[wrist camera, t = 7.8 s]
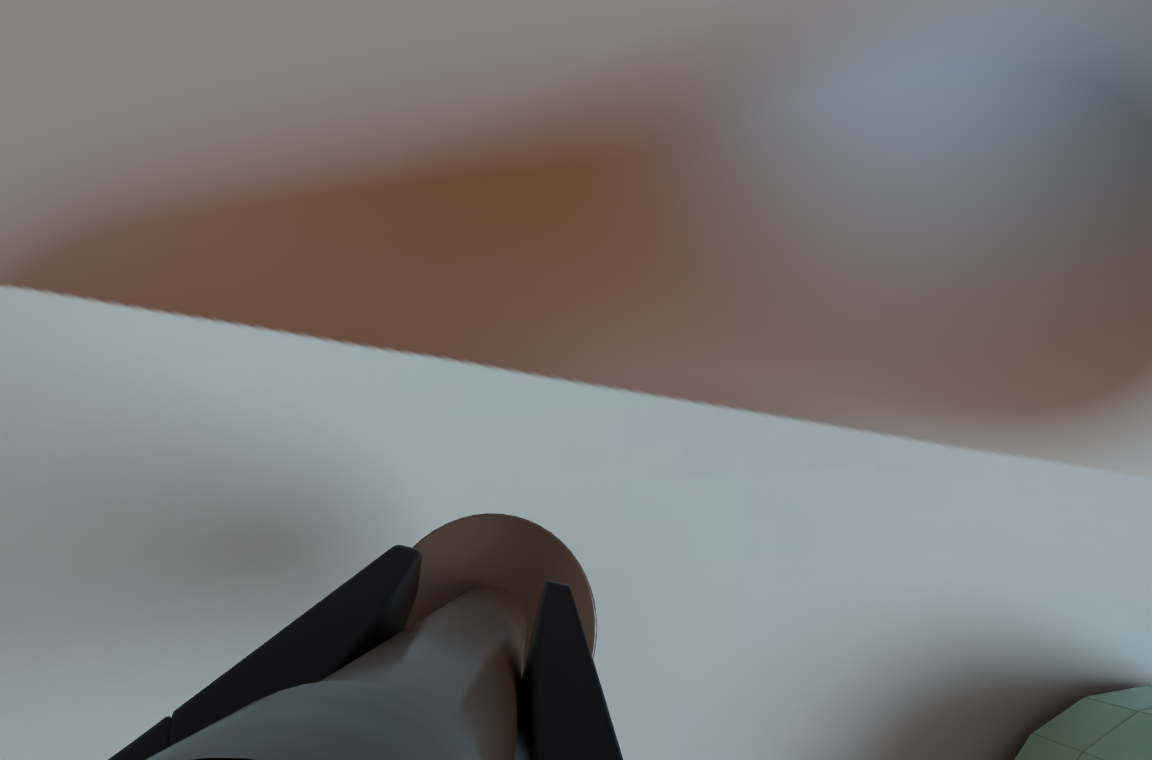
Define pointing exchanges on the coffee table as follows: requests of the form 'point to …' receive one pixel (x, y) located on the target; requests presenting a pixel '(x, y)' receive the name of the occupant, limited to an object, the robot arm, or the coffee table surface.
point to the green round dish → (1097, 729)
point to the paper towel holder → (422, 662)
